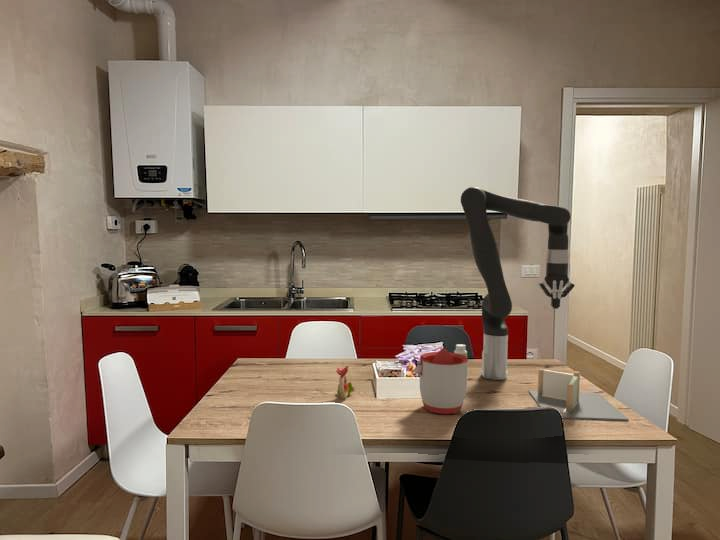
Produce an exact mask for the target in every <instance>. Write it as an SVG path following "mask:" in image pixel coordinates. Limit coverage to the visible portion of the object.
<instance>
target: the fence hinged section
mask: <svg viewBox="0 0 720 540" xmlns="http://www.w3.org/2000/svg"><path fill="white" fill-rule="evenodd" d="M577 386H578V376H574V377H573V378H572V380H571V381H570V383H569V384H567V397H566V411H567V412H573V408H574V406H575V404H576V402H577Z"/></svg>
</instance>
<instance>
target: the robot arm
mask: <svg viewBox="0 0 720 540" xmlns="http://www.w3.org/2000/svg"><path fill="white" fill-rule="evenodd" d="M460 204H461V207H462V209H463V212H464V215H465V218H466V221H467V224H468V227H469V236H470V244H471V249H472V254H473V257H474V261H475V264H476V267H477V269H478V272H479V274H480V275H481V277H482V279H483V280H484V283H485V286H486V289H487V294H486V295H484V297H483V299H482V303H481V323H482V328H483V346H482V347H483V348H482V349H483V350H482V351H481V376H482V377H483V379H488V380H493V381H494V380H495V381H501V380H503V381H504V380H506V379H507V375H508V347H509V345H508V341H509V328H508V326H507V324H506V321H505V318H507V317H508V316H510V314H511V313H512V309H513V302H512V300H511V295H510V293H509V289H508V287H507V285H506V281H505V278H504V273H503V268H502V267H503V266H502V263H501V258H500V253H499V249H498V245H497V241H496V238H495V235H494V233H493V230H492V229H491V226H490V223H489V219H488V213H487V211H492V212H498V213H501V214H505V215H508V216H510V217H513V218H517V219H521V220H526V221H532V222H538V223H540V222H541V223H544V224H547V226H548V227H547V228H548V238H547V239H548V240H547V252H546V263H545V265H546V266H545V267H546V269H545V277H544V280H542V281H541V282H539V283H538V286H539V287H540V289H541V290H542V292H543V293H544V294H545V296H547V297H549V298H550V299H551V300H550V301H551V302H550V305H551V307H552V309H553V310H556V309H557V310H558V309H559V308H560V307H561V298H565V297H566V296H568V294H569V293H570V292H571V291H572V290H573V289H574V288H575V284H574V283H572V282H571V281H570V278H569V276H568V275H569V258H570V257H569V235H568V224H569V223H570V220H571V213H570V211H569V210H568V209H567V208H566V207H564V206H559V205H558V206H557V205H552V204H544V203H540V202H537V201H533V200H527V199H521V198H516V197H515V198H514V197H510V196H505V195H500V194H496V193H495V192H494V193H493V192H490V191H487V190H485V189H483V188H481V187H479V186H470V187H468V188H466V189H465V190H463V191H462V193H461V196H460ZM547 287H548V288H549V289H550V291H549V290H548V288H547ZM563 289H564V290H563Z"/></svg>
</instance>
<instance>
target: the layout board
mask: <svg viewBox="0 0 720 540" xmlns="http://www.w3.org/2000/svg"><path fill="white" fill-rule="evenodd" d="M528 393H529V395H530V396H531V398H534V399H535V400H534V399H533V400H534V401H535V402H537V403H538V404H539V405H540V407H544V406H548V407H554V408H556V409H558V410H559V411H560V413H561V414H562V417H563V419H564V418H571V419H570V420H587V419H596V420H595V421H614V422H615V421H616V422H619V421H621V422H622V421H623V422H629V421H630V420H629V418H628V417H627V416H626V415H625V414H624V413H622V412H621V411H620V410H618V408H616V407H615V406H614V405H613V404H612V403H610V402H609V401H608V400H607V399H606V398H605V397H603V395H602V394H600V393H598V392H584V391H583V392H581V391H579V402H576V404H575V406H574V408H573V412H567V411H566V400H564V399H559V398H553V397H548V396H543V395H538V390H528ZM537 403H536V404H537ZM538 404H537V405H538ZM539 405H538V406H539ZM540 407H539V408H540Z"/></svg>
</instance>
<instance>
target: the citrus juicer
mask: <svg viewBox="0 0 720 540" xmlns="http://www.w3.org/2000/svg"><path fill="white" fill-rule="evenodd" d="M419 356H420V357H419V365H416V366H415V367H414V370H413V374H414V375H416V374H419V390H420V391H419V392H420V397H421V400H422V401H421V402H422V404H423V407H424V409H425V410H427V411H428V412H430V413H432V412H434V413H433V414H440V415H450V414H451V413H452V414H456V413H455V412H457V413H458V412H460V411H461V409H462V407H463V405H464V402H465V399H466V398H465V397H466V393H467V386H468V382H467V381H468V362H469V358H468V356H467V357H466V356H464V355H461V354H456V353H454V352H449V351H448V350H447V349H446V348H444V347H443V348H441V349H440V350H439V351H431V352H430V351H429V352H424V353H422V354H421V355H419Z"/></svg>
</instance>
